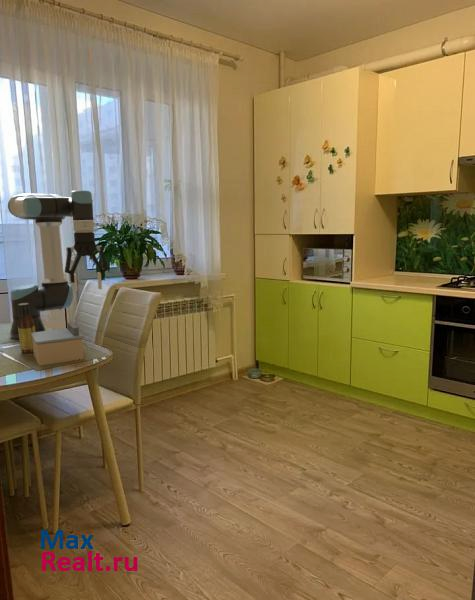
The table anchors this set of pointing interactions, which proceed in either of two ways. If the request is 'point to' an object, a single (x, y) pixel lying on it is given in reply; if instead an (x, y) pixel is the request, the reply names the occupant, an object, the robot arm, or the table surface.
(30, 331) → the sauce bottle
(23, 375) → the table surface
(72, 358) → the mailer box
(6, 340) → the table surface
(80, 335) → the mailer lid
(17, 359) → the table surface
